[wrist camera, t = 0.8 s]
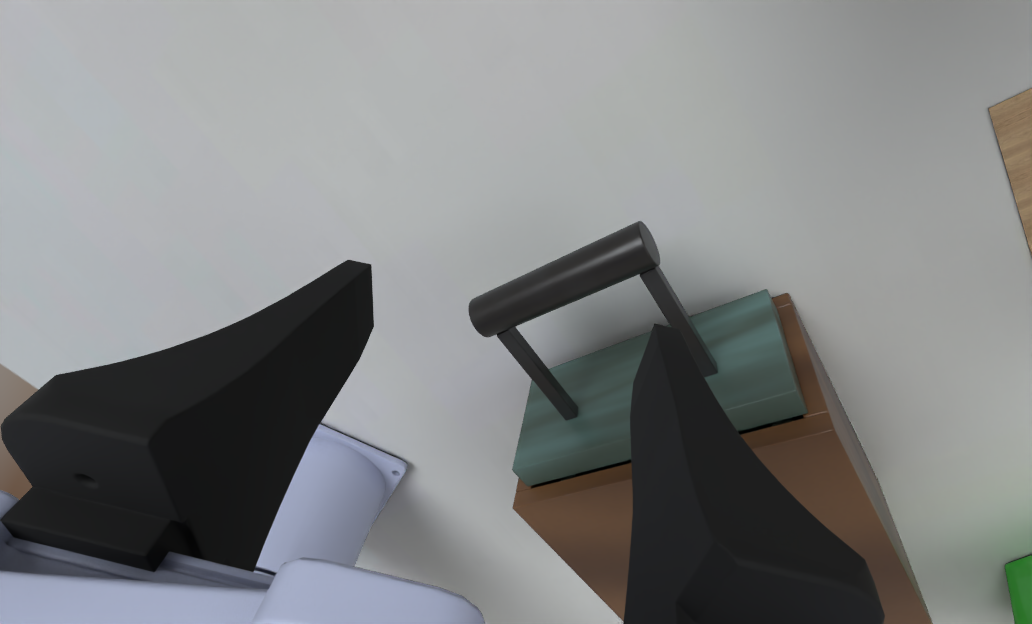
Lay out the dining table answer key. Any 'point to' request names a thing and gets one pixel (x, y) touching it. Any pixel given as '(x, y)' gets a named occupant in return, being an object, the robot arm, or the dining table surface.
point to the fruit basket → (1020, 589)
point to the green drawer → (630, 359)
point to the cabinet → (786, 454)
